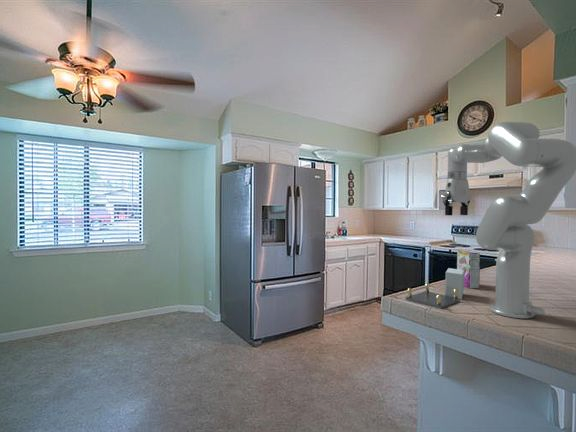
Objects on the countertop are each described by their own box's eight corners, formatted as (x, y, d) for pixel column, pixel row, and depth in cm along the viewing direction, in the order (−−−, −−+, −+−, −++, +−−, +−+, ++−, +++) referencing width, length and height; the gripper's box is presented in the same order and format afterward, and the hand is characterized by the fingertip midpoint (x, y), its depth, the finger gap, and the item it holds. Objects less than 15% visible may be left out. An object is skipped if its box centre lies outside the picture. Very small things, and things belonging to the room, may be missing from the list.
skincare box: (462, 300, 123) (462, 273, 123) (444, 297, 127) (444, 272, 127) (464, 293, 132) (464, 269, 132) (447, 291, 136) (447, 267, 135)
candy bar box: (456, 282, 152) (456, 249, 151) (466, 282, 152) (467, 249, 151) (468, 288, 141) (469, 252, 140) (480, 288, 140) (480, 252, 140)
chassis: (459, 301, 122) (460, 289, 122) (440, 308, 113) (440, 296, 112) (425, 293, 133) (425, 282, 133) (405, 299, 124) (405, 288, 124)
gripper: (451, 174, 130) (450, 215, 131) (478, 176, 138) (477, 215, 138) (435, 176, 137) (435, 215, 138) (462, 177, 144) (461, 214, 145)
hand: (456, 215), depth 138 cm, fingers open, 9 cm apart
